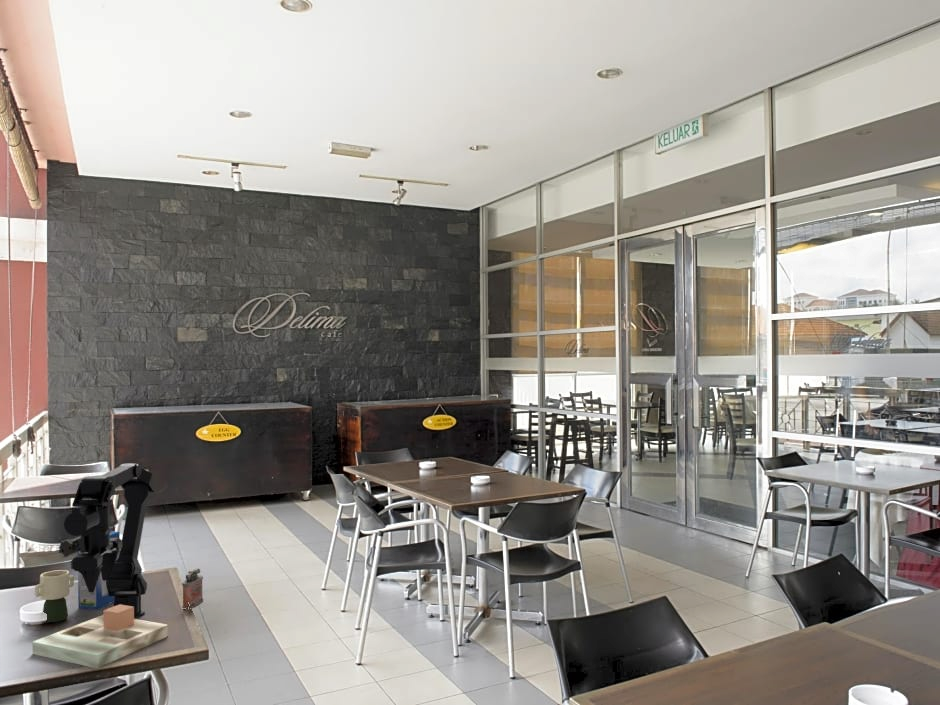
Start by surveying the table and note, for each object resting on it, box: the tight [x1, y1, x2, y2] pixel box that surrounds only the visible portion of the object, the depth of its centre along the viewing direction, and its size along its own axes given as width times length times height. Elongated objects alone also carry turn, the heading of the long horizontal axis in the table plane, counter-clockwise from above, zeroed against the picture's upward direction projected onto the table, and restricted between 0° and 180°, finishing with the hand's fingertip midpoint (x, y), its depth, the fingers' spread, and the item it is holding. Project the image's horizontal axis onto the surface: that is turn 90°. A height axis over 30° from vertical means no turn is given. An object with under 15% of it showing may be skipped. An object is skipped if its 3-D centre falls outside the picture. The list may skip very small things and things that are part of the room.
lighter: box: [181, 568, 204, 610], centre depth 212 cm, size 8×3×10 cm, turn 168°
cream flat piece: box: [32, 614, 169, 669], centre depth 183 cm, size 21×22×3 cm
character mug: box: [34, 569, 75, 623], centre depth 200 cm, size 11×7×13 cm, turn 153°
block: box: [102, 604, 135, 631], centre depth 187 cm, size 5×5×4 cm
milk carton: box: [77, 531, 120, 611], centre depth 215 cm, size 10×6×20 cm, turn 170°
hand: (98, 586), depth 187 cm, fingers open, 9 cm apart
